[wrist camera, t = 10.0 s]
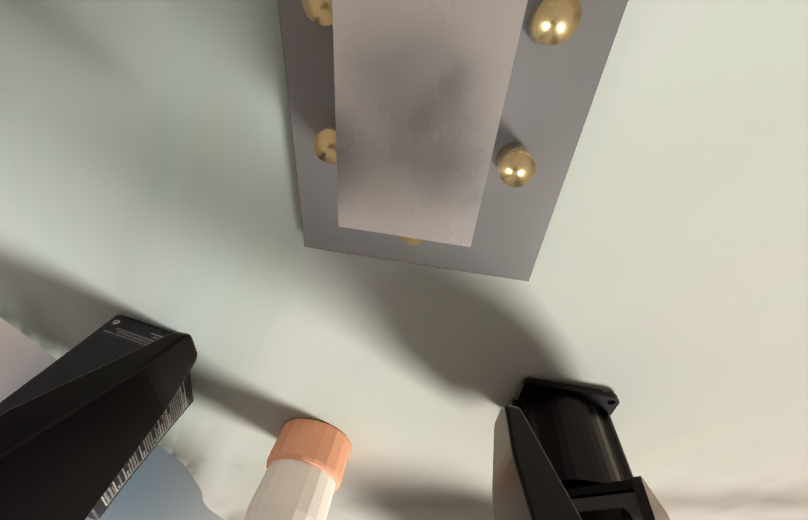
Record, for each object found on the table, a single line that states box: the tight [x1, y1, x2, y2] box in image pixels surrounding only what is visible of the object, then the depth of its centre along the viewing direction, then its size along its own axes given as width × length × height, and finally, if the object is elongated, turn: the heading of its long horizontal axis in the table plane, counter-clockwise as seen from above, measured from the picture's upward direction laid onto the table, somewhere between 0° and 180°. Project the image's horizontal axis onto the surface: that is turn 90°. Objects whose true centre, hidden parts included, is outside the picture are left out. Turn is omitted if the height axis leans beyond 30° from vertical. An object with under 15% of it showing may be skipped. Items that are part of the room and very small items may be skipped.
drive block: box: [332, 0, 528, 247], centre depth 12 cm, size 5×9×5 cm, turn 175°
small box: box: [0, 315, 193, 520], centre depth 26 cm, size 11×6×10 cm, turn 164°
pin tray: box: [278, 0, 628, 281], centre depth 14 cm, size 13×18×3 cm
